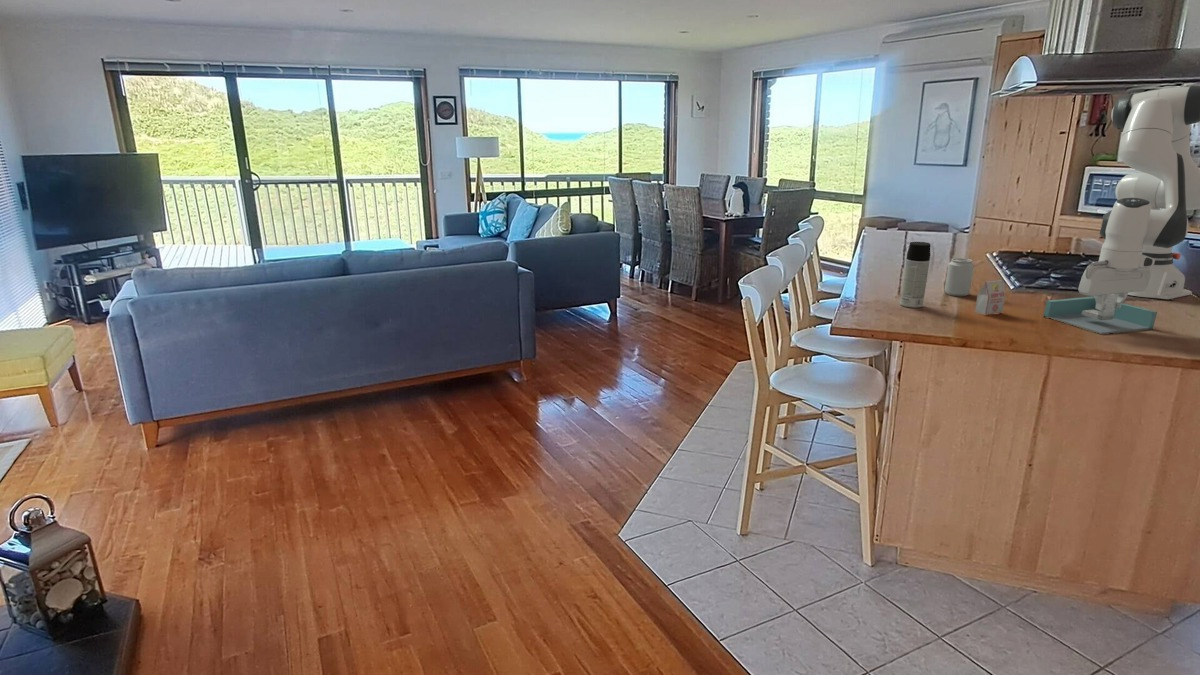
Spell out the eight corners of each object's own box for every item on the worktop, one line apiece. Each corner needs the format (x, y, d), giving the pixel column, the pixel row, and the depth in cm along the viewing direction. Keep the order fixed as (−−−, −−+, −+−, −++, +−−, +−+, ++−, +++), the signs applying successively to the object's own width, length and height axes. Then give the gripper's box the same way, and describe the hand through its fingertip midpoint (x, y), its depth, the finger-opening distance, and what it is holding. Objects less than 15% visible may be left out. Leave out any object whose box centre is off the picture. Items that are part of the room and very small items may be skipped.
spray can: (922, 304, 209) (931, 242, 202) (923, 309, 203) (932, 245, 197) (900, 302, 211) (908, 240, 205) (899, 307, 205) (908, 244, 199)
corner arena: (1091, 312, 197) (1095, 296, 195) (1152, 329, 180) (1157, 311, 179) (1043, 317, 193) (1046, 300, 191) (1100, 334, 176) (1105, 317, 175)
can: (972, 297, 215) (978, 261, 212) (947, 296, 217) (953, 261, 213) (965, 292, 222) (970, 257, 219) (941, 291, 224) (946, 256, 220)
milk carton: (974, 312, 198) (979, 280, 195) (991, 310, 200) (997, 278, 197) (984, 316, 195) (990, 283, 192) (1001, 313, 197) (1007, 281, 194)
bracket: (1112, 319, 182) (1118, 294, 180) (1101, 320, 181) (1106, 296, 179) (1092, 313, 187) (1097, 289, 185) (1081, 314, 186) (1086, 290, 184)
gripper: (1099, 264, 171) (1088, 314, 176) (1160, 259, 176) (1147, 308, 180) (1077, 259, 177) (1067, 308, 181) (1137, 255, 182) (1125, 303, 186)
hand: (1107, 308), depth 181 cm, fingers closed on bracket, 4 cm apart
